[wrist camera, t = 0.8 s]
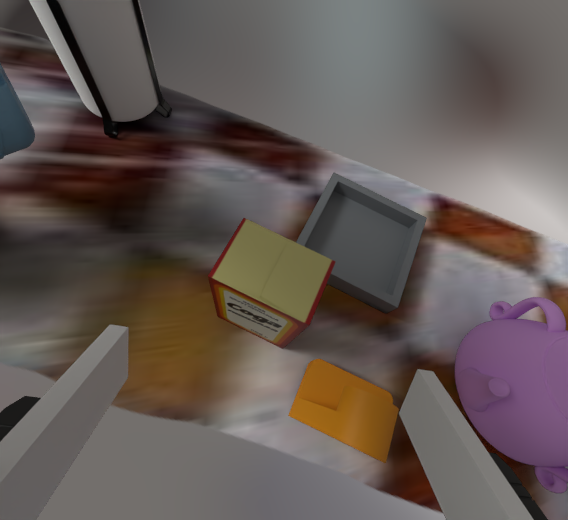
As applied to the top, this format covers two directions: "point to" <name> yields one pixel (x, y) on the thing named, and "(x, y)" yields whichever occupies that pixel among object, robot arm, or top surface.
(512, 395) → the teapot
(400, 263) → the tray
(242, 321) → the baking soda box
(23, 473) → the robot arm
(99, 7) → the coffee press
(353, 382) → the bracket
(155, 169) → the top surface
